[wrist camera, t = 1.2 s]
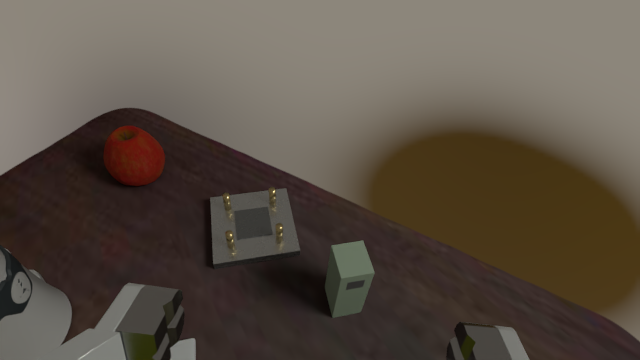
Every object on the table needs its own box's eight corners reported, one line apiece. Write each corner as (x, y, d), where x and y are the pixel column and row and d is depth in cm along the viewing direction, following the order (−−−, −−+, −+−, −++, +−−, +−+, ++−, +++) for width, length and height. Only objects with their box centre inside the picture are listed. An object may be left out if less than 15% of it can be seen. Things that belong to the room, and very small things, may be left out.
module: (332, 317, 56) (341, 278, 48) (324, 287, 60) (331, 245, 51) (360, 312, 57) (374, 272, 48) (351, 282, 60) (362, 240, 52)
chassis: (214, 269, 60) (210, 252, 57) (211, 202, 70) (207, 184, 66) (299, 255, 63) (300, 238, 60) (286, 193, 72) (286, 175, 69)
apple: (108, 164, 74) (88, 122, 67) (162, 149, 78) (149, 108, 71) (117, 199, 69) (96, 158, 61) (174, 182, 72) (162, 141, 65)
